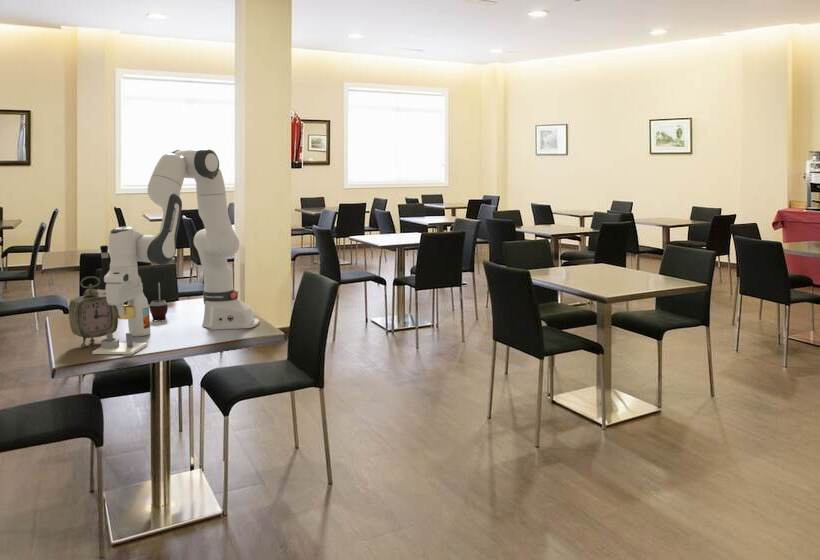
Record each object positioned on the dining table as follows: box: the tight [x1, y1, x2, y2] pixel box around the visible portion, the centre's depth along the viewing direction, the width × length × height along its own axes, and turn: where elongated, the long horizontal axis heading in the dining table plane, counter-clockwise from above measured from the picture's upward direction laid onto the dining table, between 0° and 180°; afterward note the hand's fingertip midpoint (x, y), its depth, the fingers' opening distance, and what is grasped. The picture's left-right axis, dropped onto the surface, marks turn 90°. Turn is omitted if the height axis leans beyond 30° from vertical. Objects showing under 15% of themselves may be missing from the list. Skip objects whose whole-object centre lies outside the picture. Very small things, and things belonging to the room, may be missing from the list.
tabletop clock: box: [68, 275, 119, 349], centre depth 253 cm, size 14×9×25 cm, turn 138°
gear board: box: [92, 332, 148, 355], centre depth 246 cm, size 14×12×6 cm
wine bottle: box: [96, 244, 110, 296], centre depth 304 cm, size 8×8×30 cm
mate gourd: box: [149, 282, 169, 322], centre depth 294 cm, size 8×8×15 cm
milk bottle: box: [126, 282, 151, 337], centre depth 268 cm, size 8×8×20 cm
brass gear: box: [117, 304, 136, 320], centre depth 244 cm, size 5×5×4 cm
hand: (126, 313), depth 244 cm, fingers closed on brass gear, 5 cm apart
